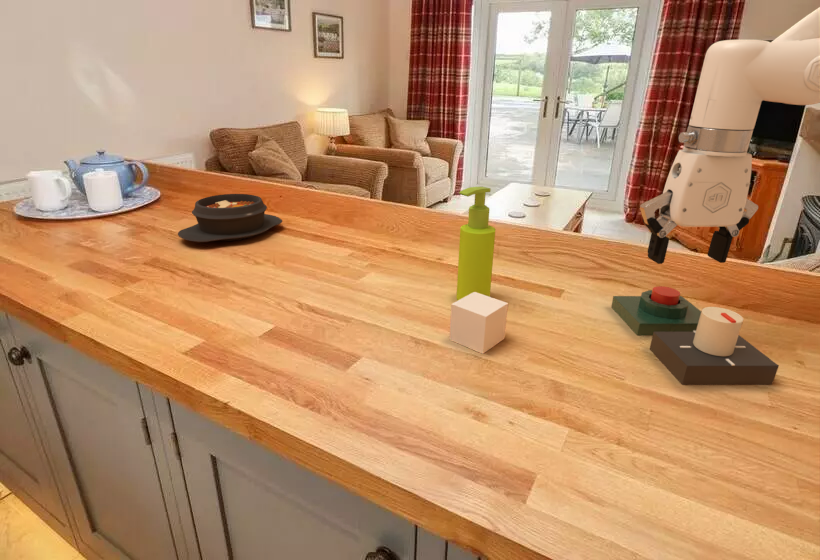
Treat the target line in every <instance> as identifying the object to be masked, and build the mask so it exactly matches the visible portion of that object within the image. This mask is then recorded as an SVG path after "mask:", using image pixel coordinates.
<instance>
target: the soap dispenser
mask: <svg viewBox="0 0 820 560" xmlns="http://www.w3.org/2000/svg"><path fill="white" fill-rule="evenodd" d="M491 191H492V189H491V188H490V187H487V186H470V187H466V188H464V189H462V190H460V191H459V192H458V194H459V195H461V196H465V197H467V198H468V197H471V196H472V195H474V204H472V205H470V206H469V207H468V218H467V223H466V224H462V225H461V226H460V228H459V242H458V243H459V244H458V264H457V280H456V301H458V300H460V299H462V298H464V297H466V296H467V295H469V294H471V293H473V292H477V293H480V294H483V295H486V296H489V297H491V288H492V276H493V265H494V252H495V239H496V228H495V226H492V225H489V224H490V223H489V222H490V221H489V220H490V207H489V206H487V204H486V193H491Z"/></svg>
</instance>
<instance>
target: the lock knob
mask: <svg viewBox="0 0 820 560" xmlns="http://www.w3.org/2000/svg"><path fill="white" fill-rule="evenodd" d="M700 311H701V315H700V318H699V322H698V326H697V329H696V333H695V337H694V340H693V344H694V346H695V347H696V348H697V349H699V350H701V351H703V352H705V353H708V354H711V355H715V356H730V355H732V354H733V352H734V348H735V345H736V342H737V339H738V336H739V335H740V333H741V329H742V326H743V322H744V317H743V316H742V314H739V313H738V312H736V311H734V310H731V309H728V308H724V307H718V306H706V307H703V308H702V309H701V310H700Z"/></svg>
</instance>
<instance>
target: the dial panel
mask: <svg viewBox="0 0 820 560" xmlns="http://www.w3.org/2000/svg"><path fill="white" fill-rule="evenodd" d="M695 333H696V331H693V332H653V336H652V337H651V341H650V345H649V350H650V352H651V353H652V354H653V355H654V356H655V357H656V358H657V360H658V361H660V363H661V364H662V365H663V366H664V367H665V368H666V369H667V370H668V371H669V373H670V374H671V375H672V376H673V377H674V378H675V379H676V380H677V382H678V383H679V384H680V385H682V386H770V385H771V386H772V385H773V383H774V380H775V377H776V376H777V372H778V369H779V364H777V363H776V362H775V361H774V360H773V359H771V358H770V357H768V356H767V355H766V354H764V353H763V352H762V351H760V350H759V349H758V348H756V347H755V346H754V345H753V344H752V343H750V342H748V341H747V340H746V338H743V337H742V336H741V335H740V334H739V336H738V339H737V342H736V345H735V348H734V352H733V354H732V355H730V356H715V355H711V354H708V353H705V352H703V351H701V350H699V349H697V348H696V347H695V346H694V344H693V340H694V337H695Z"/></svg>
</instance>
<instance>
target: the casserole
mask: <svg viewBox="0 0 820 560" xmlns="http://www.w3.org/2000/svg"><path fill="white" fill-rule="evenodd" d="M267 209H268V206H267V205H266V204H265V203H264V202H263V199H262V197H260V196H258V195H254V194H249V193H248V194H247V193H225V194H217V195H216V194H215V195H211V196H206V197H203V198H201V199H198V200H197V201H196V202H195V203H194V207H193V209H192V210H191V215H193V216H194V217H195V219H196V222H197V223H196V224H194V225H191V226H189V227H186V228H183V229H180V230H179V231H178V232H177V236H178V237H179V238H180V239H182V240H186V241H188V242H195V243H209V242H217V241H223V242H231V241H233V242H234V241H240V240H245V239H249V238H253V237H256V236H257V235H260V234H263V233H265V232H267V231H269V230H270V229H271V228H274V227H276V226H279V225H281V224H282V223H283V219H281V218H280V217H279V216H276V215H273V214H267V213H265V212H266V211H267Z"/></svg>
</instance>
